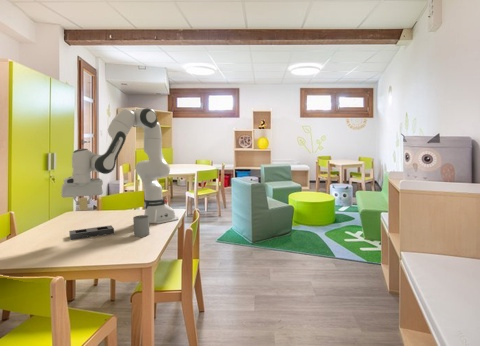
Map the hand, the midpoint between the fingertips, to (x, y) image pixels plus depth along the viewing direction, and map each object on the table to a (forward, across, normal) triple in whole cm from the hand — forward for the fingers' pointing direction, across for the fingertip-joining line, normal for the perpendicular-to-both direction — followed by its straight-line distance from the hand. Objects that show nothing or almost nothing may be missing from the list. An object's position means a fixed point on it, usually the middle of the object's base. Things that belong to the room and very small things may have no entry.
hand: (82, 204), depth 184 cm
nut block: (+3, 0, 0) cm, 3 cm away
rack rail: (+18, -4, -2) cm, 19 cm away
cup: (+18, -28, +13) cm, 36 cm away
